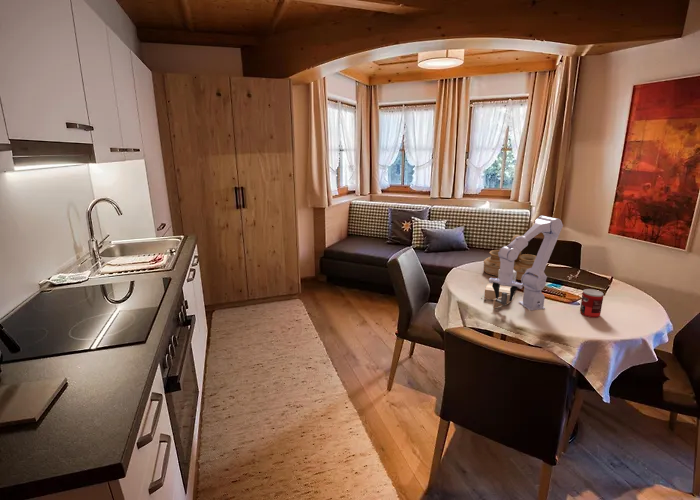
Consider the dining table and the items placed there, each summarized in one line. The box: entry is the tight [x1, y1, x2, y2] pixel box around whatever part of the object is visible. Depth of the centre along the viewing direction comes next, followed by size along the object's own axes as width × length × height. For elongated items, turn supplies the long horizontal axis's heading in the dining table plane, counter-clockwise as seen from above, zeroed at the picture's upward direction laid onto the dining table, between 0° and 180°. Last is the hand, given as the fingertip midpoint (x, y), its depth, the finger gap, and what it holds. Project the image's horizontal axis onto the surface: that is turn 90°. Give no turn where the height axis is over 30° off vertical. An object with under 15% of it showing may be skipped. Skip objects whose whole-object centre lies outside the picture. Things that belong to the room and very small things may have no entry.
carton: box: [483, 283, 511, 301], centre depth 188 cm, size 12×9×5 cm
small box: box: [497, 269, 517, 287], centre depth 198 cm, size 8×6×10 cm
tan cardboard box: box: [492, 292, 511, 309], centre depth 175 cm, size 12×6×9 cm, turn 120°
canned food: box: [579, 288, 605, 318], centre depth 166 cm, size 8×8×11 cm
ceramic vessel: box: [483, 234, 537, 281], centre depth 215 cm, size 34×18×25 cm, turn 50°
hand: (503, 299), depth 172 cm, fingers open, 5 cm apart
